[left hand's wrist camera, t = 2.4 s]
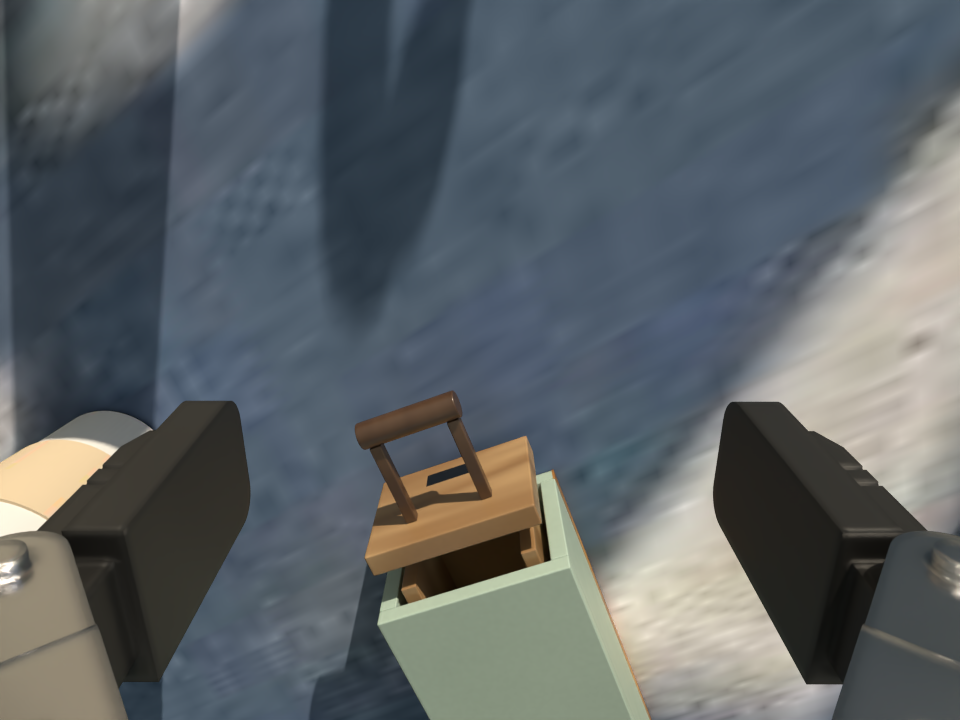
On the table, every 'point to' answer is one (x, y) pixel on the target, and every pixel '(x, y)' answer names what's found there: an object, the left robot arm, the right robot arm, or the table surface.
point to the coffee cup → (59, 467)
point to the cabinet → (517, 639)
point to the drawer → (452, 506)
